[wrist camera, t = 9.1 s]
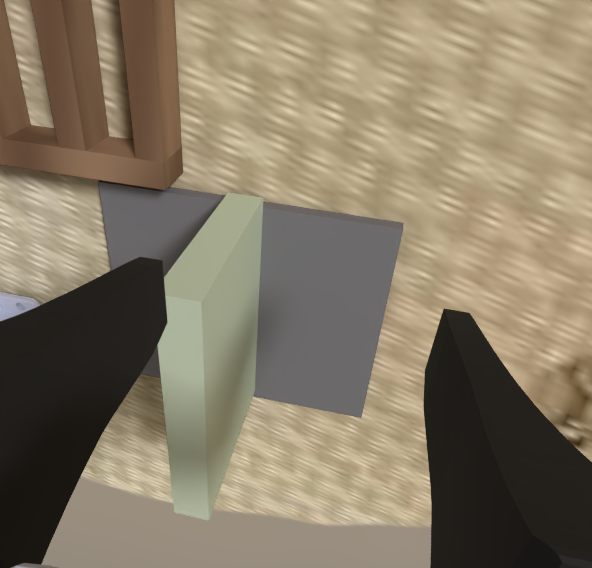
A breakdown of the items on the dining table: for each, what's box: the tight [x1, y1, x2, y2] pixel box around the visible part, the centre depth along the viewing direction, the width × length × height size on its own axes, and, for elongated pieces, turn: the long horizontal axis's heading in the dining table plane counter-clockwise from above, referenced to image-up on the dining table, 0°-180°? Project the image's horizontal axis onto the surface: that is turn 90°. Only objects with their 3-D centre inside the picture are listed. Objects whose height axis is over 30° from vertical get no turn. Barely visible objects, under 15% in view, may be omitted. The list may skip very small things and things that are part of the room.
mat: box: [98, 180, 403, 418], centre depth 26 cm, size 14×12×1 cm
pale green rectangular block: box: [158, 192, 263, 520], centre depth 22 cm, size 2×12×8 cm, turn 175°
